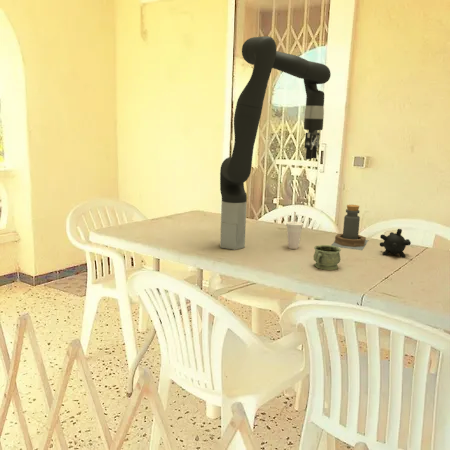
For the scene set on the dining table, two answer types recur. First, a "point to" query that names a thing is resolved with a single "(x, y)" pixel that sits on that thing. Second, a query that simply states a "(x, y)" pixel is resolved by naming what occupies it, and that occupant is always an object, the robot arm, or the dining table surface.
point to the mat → (349, 246)
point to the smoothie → (294, 233)
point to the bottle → (351, 222)
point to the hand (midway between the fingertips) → (311, 158)
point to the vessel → (327, 257)
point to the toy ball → (394, 243)
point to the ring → (350, 241)
